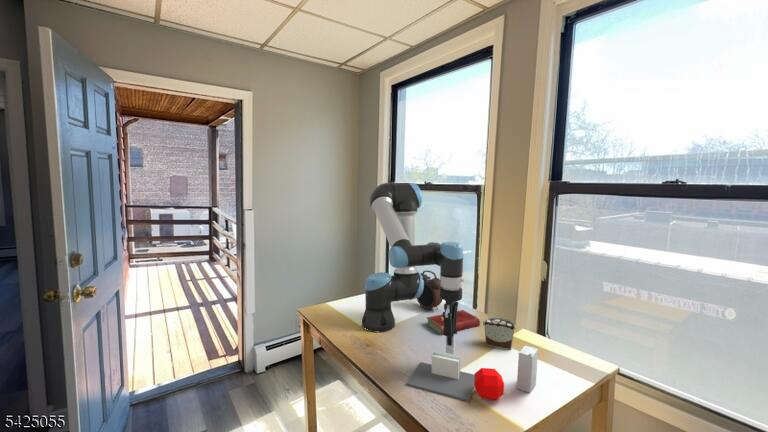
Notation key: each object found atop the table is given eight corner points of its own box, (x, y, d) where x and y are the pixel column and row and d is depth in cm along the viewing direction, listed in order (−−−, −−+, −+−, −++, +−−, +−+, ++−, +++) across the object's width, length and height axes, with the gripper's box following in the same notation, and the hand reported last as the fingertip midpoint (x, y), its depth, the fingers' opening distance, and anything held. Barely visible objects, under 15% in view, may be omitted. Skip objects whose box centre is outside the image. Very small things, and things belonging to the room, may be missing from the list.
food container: (516, 343, 133) (516, 319, 132) (515, 350, 127) (516, 325, 126) (484, 337, 138) (484, 314, 137) (482, 344, 132) (482, 320, 131)
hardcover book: (480, 327, 149) (480, 318, 149) (442, 336, 140) (442, 327, 140) (463, 317, 160) (463, 309, 160) (426, 325, 151) (426, 316, 151)
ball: (499, 389, 103) (500, 365, 103) (504, 405, 96) (505, 380, 95) (473, 386, 105) (474, 363, 104) (476, 402, 97) (477, 378, 96)
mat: (406, 384, 106) (406, 383, 106) (420, 363, 118) (420, 361, 118) (469, 402, 97) (469, 400, 97) (477, 377, 110) (477, 375, 110)
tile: (431, 372, 111) (431, 355, 111) (433, 369, 113) (433, 352, 113) (458, 379, 107) (458, 361, 107) (459, 375, 109) (460, 358, 109)
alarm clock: (413, 307, 173) (413, 269, 171) (422, 303, 178) (423, 267, 176) (434, 315, 162) (435, 275, 160) (444, 311, 167) (444, 272, 165)
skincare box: (522, 379, 108) (523, 344, 107) (537, 385, 105) (538, 348, 104) (516, 388, 104) (517, 351, 102) (531, 394, 101) (532, 356, 99)
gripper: (457, 294, 107) (456, 364, 109) (465, 283, 118) (464, 346, 120) (435, 291, 110) (434, 359, 112) (445, 280, 121) (444, 342, 124)
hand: (450, 352), depth 116 cm, fingers closed
